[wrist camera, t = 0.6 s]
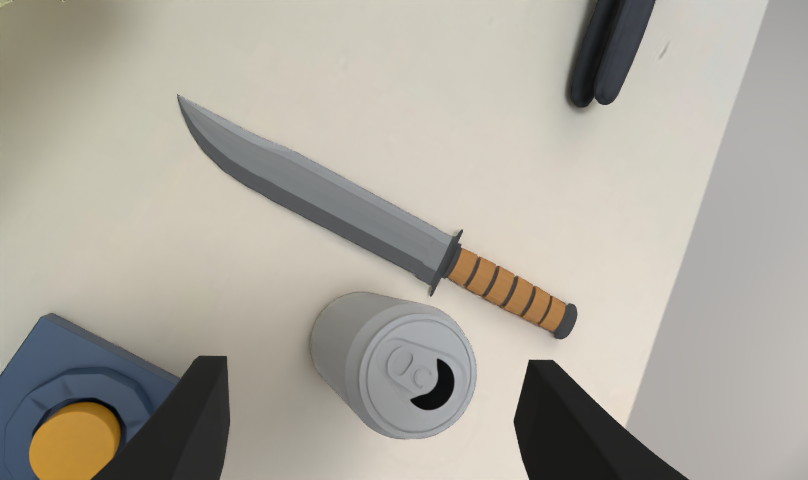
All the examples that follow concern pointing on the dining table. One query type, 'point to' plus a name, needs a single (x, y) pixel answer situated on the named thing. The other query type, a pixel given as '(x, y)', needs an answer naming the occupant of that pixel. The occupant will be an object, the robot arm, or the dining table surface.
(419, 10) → the dining table surface
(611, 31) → the can opener
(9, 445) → the button housing
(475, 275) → the knife
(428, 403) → the beverage can
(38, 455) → the trigger button
